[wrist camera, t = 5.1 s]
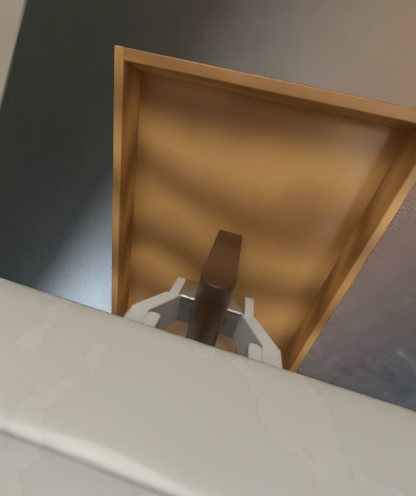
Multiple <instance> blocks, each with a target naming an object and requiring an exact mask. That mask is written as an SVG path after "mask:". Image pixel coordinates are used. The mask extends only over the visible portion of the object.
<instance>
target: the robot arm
mask: <svg viewBox="0 0 416 496" xmlns="http://www.w3.org/2000/svg"><path fill="white" fill-rule="evenodd" d="M197 288H198V282H195V281H191V280H188V279H185V278H182V277H178V278H177V279H176V281H175V283H174V284H173V286H172V288H171V289H170V291H169V292H168V291H166V292H164V293H161V294H159V295H156V296H153V297H151V298H148V299H146V300H143V301H141V302H138V303H136V304H133V305H132V306H131V308H130V309H129V310H128V311H127V313H126V314H125V315H124V317H121V316H117V315H114V314H111V313H108V312H105V311H102V310H99V309H96V308H93V307H89V306H86V305H83V304H80V303H77V302H74V301H71V300H68V299H65V298H62V297H58V296H55V295H52V294H49V293H46V292H43V291H40V290H37V289H34V288H30V287H27V286H24V285H21V284H18V283H15V282H12V281H9V280H6V279H3V278H0V496H416V411H413V410H410V409H407V408H404V407H400V406H397V405H394V404H391V403H388V402H385V401H382V400H379V399H376V398H372V397H369V396H366V395H363V394H360V393H357V392H354V391H351V390H348V389H344V388H341V387H338V386H335V385H332V384H329V383H326V382H323V381H320V380H316V379H313V378H310V377H307V376H304V375H301V374H298V373H295V372H292V371H288V370H285V369H283V366H282V358H281V351H280V350H279V349H278V347H277V346H276V344H275V343H274V342H273V340H272V339H271V338H270V336H269V335H268V334H267V332H266V331H265V330H264V328H263V327H262V325H261V324H260V323H259V321H258V320H257V319H256V318H254V299H252V298H249V297H244V296H241V295H237V294H234V293H233V294H232V297H231V300H230V303H229V306H228V309H227V312H226V315H225V318H224V321H223V324H222V327H221V330H220V333H219V334H222V335H225V336H227V337H230V338H232V340H233V342H234V344H235V346H236V349H237V351H238V353H239V354H236V353H232V352H229V351H226V350H223V349H220V348H217V347H214V346H211V345H208V344H204V343H201V342H198V341H195V340H192V339H189V338H186V337H183V336H180V335H176V334H173V333H170V332H167V331H164V330H163V329H165V328H166V327H168V326H169V325H171V324H172V323H174V322H175V321H180V322H183V323H187V324H189V321H190V317H191V313H192V309H193V305H194V300H195V296H196V292H197Z"/></svg>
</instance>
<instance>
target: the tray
mask: <svg viewBox="0 0 416 496" xmlns="http://www.w3.org/2000/svg"><path fill="white" fill-rule="evenodd" d="M415 184H416V109H415V108H410V107H406V106H401V105H396V104H391V103H387V102H382V101H377V100H372V99H368V98H363V97H358V96H353V95H349V94H344V93H339V92H334V91H330V90H325V89H320V88H315V87H311V86H306V85H301V84H296V83H292V82H287V81H282V80H278V79H273V78H268V77H263V76H259V75H254V74H249V73H244V72H240V71H235V70H230V69H225V68H221V67H216V66H211V65H206V64H202V63H197V62H192V61H187V60H183V59H178V58H173V57H168V56H164V55H159V54H154V53H149V52H145V51H140V50H135V49H130V48H124V47H121V46H115V51H114V141H113V232H112V314H114V315H117V316H121V317H124V315H125V314H126V313H127V311H128V310H129V309H130V308H131V306H132V305H133V304H136V303H138V302H141V301H143V300H146V299H148V298H151V297H153V296H156V295H159V294H161V293H164V292H166V291H168V292H169V291H170V289H171V288H172V286H173V284H174V283H175V281H176V279H177V278H178V277H182V278H185V279H188V280H191V281H195V282H198V288H197V292H196V296H195V300H194V305H193V309H192V313H191V317H190V321H189V324H187V323H183V322H180V321H175V322H174V323H172V324H171V325H169V326H168V327H166V328H165V329H163V330H164V331H167V332H170V333H173V334H176V335H180V336H183V337H186V338H189V339H192V340H195V341H198V342H201V343H204V344H208V345H211V346H214V347H217V348H220V349H223V350H226V351H229V352H232V353H236V354H239V353H238V351H237V349H236V346H235V344H234V342H233V340H232V338H230V337H227V336H225V335H222V334H219V333H220V330H221V327H222V324H223V321H224V318H225V315H226V312H227V309H228V306H229V303H230V300H231V297H232V294H233V293H234V294H237V295H241V296H244V297H249V298H252V299H254V318H256V319H257V320H258V321H259V323H260V324H261V325H262V327H263V328H264V330H265V331H266V332H267V334H268V335H269V336H270V338H271V339H272V340H273V342H274V343H275V344H276V346H277V347H278V349H279V350H280V351H281V358H282V366H283V369H285V370H288V371H292V372H296V370H297V369H298V367H299V365H300V364H301V362H302V361H303V359H304V358H305V356H306V354H307V353H308V351H309V350H310V348H311V347H312V345H313V344H314V342H315V340H316V339H317V337H318V336H319V334H320V333H321V331H322V329H323V328H324V326H325V325H326V323H327V322H328V320H329V318H330V317H331V315H332V314H333V312H334V311H335V309H336V307H337V306H338V304H339V303H340V301H341V300H342V298H343V297H344V295H345V293H346V292H347V290H348V289H349V287H350V286H351V284H352V282H353V281H354V279H355V278H356V276H357V275H358V273H359V271H360V270H361V268H362V267H363V265H364V264H365V262H366V260H367V259H368V257H369V256H370V254H371V253H372V251H373V249H374V248H375V246H376V245H377V243H378V242H379V240H380V239H381V237H382V235H383V234H384V232H385V231H386V229H387V228H388V226H389V224H390V223H391V221H392V220H393V218H394V217H395V215H396V213H397V212H398V210H399V209H400V207H401V206H402V204H403V202H404V201H405V199H406V198H407V196H408V195H409V193H410V192H411V190H412V188H413V187H414V185H415Z"/></svg>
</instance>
